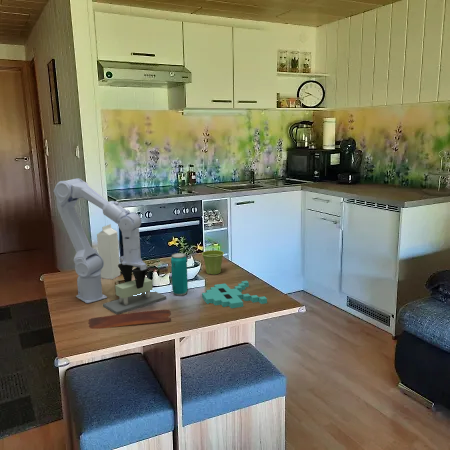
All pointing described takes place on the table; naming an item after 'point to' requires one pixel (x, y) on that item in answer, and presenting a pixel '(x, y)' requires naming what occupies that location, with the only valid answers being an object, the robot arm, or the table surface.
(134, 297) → the peg rack
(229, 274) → the table surface
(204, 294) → the alien figure
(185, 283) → the beverage can
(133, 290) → the pale green block
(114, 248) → the milk
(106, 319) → the wooden tablet
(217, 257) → the plant pot
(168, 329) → the table surface
